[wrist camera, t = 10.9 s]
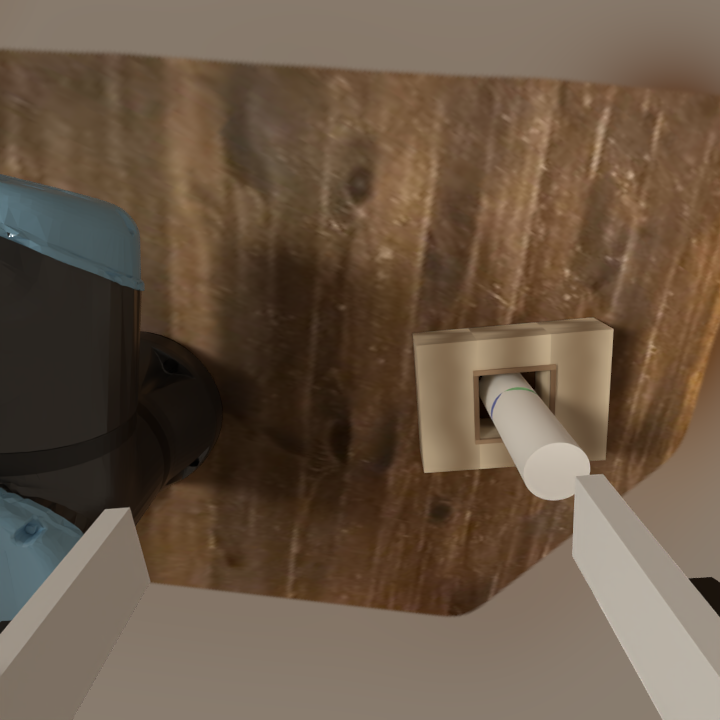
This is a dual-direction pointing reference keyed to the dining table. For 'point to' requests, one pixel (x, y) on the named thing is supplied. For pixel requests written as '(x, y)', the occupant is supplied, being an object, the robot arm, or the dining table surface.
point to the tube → (533, 436)
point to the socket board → (501, 356)
